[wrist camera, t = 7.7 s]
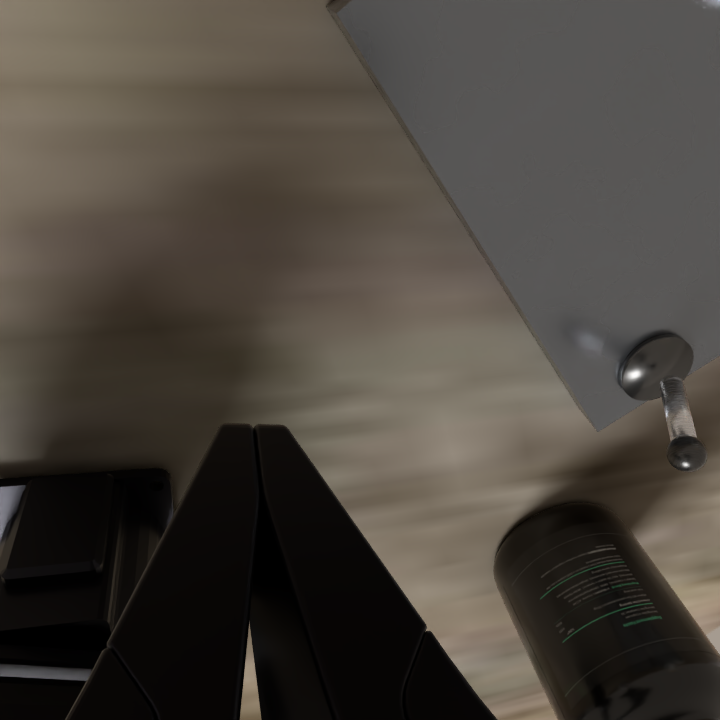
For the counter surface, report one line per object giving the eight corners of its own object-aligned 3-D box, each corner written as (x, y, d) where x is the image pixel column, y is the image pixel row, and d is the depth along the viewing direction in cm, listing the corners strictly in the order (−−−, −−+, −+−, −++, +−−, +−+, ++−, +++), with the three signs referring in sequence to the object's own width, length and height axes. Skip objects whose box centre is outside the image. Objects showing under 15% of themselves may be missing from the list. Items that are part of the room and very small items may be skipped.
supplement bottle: (615, 571, 34) (784, 830, 24) (492, 607, 33) (615, 887, 24) (625, 481, 30) (833, 747, 20) (486, 521, 30) (630, 814, 20)
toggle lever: (657, 392, 24) (675, 482, 21) (647, 372, 23) (665, 462, 21) (692, 383, 23) (715, 475, 21) (683, 362, 23) (705, 455, 20)
